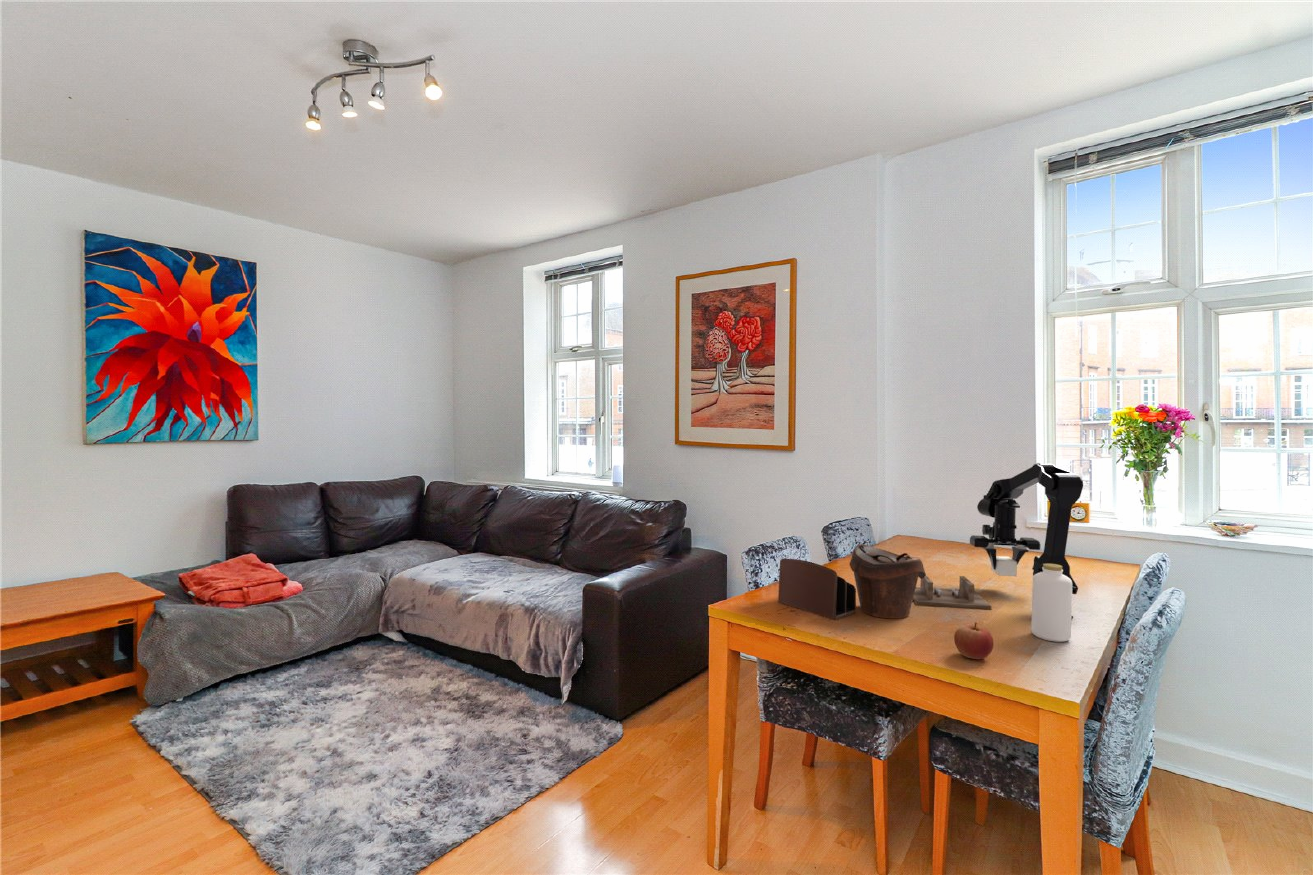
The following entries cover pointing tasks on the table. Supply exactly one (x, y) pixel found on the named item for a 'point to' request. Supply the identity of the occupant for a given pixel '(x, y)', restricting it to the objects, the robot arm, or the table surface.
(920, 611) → the table surface
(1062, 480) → the robot arm
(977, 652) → the apple
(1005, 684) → the table surface
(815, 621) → the table surface
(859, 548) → the brown lidded bucket
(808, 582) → the letter holder
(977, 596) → the rack
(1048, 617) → the potion bottle
